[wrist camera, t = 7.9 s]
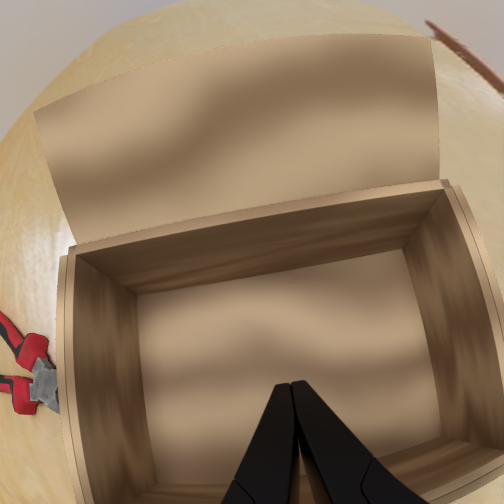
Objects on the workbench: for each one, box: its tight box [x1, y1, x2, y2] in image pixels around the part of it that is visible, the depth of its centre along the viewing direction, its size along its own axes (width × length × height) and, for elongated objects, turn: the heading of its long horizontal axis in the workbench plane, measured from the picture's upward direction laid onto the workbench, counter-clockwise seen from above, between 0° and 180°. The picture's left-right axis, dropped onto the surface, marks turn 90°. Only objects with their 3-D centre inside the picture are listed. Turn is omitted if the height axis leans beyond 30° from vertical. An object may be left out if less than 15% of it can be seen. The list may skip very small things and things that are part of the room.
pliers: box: [0, 312, 60, 415], centre depth 22 cm, size 3×9×22 cm
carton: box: [56, 179, 504, 504], centre depth 17 cm, size 17×23×9 cm
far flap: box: [34, 34, 440, 245], centre depth 14 cm, size 8×21×1 cm
